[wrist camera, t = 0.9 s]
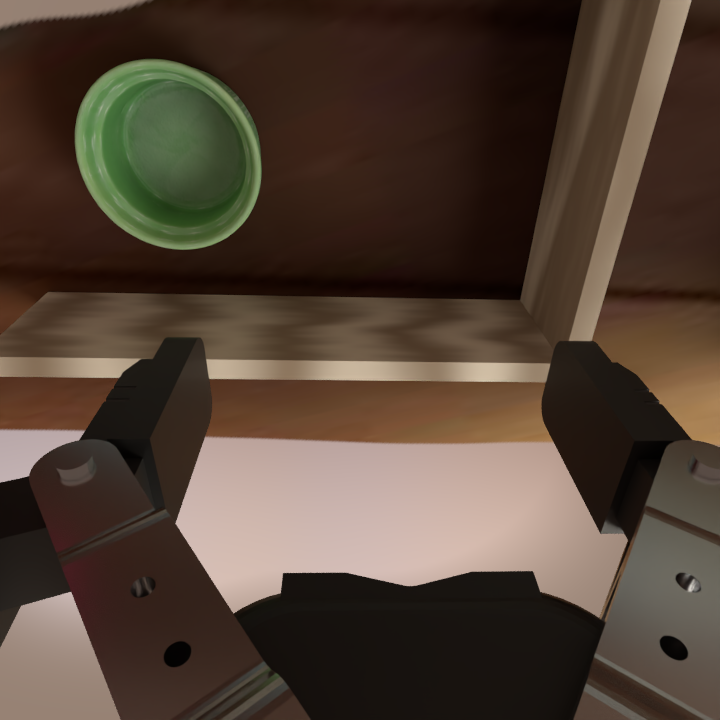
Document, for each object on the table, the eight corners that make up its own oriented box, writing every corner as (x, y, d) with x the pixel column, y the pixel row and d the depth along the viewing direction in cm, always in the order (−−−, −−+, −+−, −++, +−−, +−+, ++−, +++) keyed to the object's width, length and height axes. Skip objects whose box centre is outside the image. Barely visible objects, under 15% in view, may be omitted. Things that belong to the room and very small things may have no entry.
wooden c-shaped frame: (620, -64, 26) (720, -97, 19) (534, 316, 37) (579, 382, 30) (-64, -99, 25) (-219, -147, 18) (52, 308, 35) (-16, 376, 28)
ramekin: (192, 254, 34) (174, 282, 30) (71, 130, 30) (33, 145, 26) (303, 161, 31) (298, 180, 27) (186, 13, 27) (161, 10, 23)
